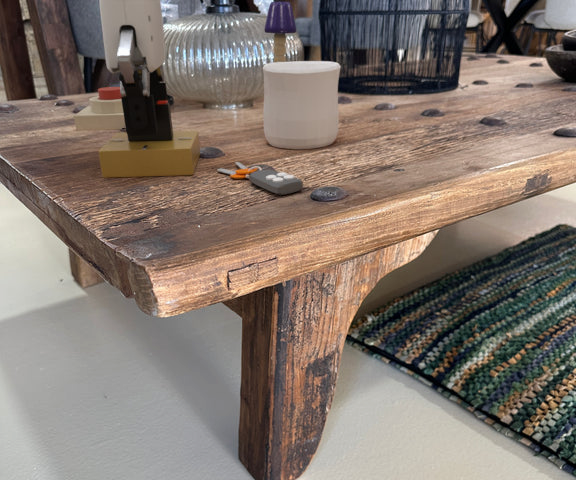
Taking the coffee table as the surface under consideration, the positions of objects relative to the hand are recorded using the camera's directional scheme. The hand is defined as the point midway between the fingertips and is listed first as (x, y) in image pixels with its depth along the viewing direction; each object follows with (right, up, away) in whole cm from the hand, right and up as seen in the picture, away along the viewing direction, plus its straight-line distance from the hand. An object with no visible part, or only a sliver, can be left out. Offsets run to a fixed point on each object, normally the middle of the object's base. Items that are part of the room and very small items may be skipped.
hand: (149, 125), depth 65 cm
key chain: (+12, -7, -4) cm, 15 cm away
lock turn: (0, -1, +1) cm, 2 cm away
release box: (-11, +7, +24) cm, 27 cm away
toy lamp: (+15, +7, +24) cm, 29 cm away
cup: (+18, +1, +12) cm, 21 cm away
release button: (-11, +10, +22) cm, 27 cm away
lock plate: (0, -4, +2) cm, 5 cm away
